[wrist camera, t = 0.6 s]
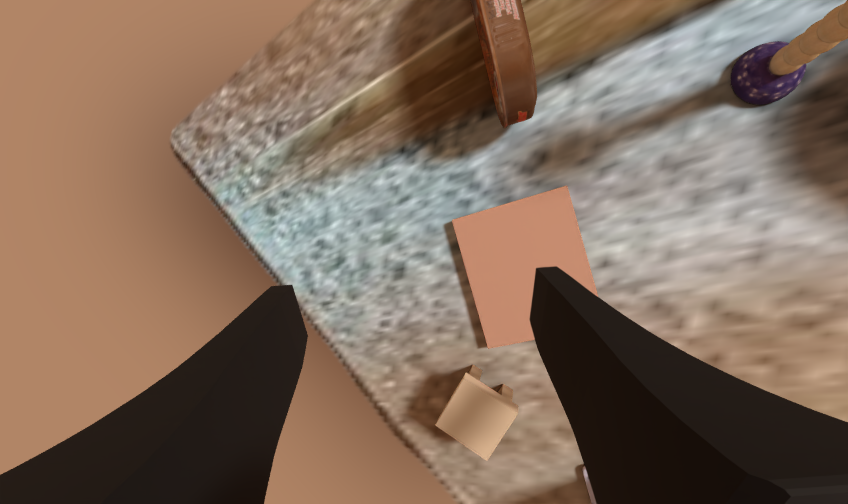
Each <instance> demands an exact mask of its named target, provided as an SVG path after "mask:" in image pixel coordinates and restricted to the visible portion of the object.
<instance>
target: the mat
mask: <svg viewBox="0 0 848 504" xmlns="http://www.w3.org/2000/svg"><path fill="white" fill-rule="evenodd" d="M452 222H453V226H454V229H455V233H456V237H457V240H458V244H459V247H460V251H461V254H462V258H463V261H464V265H465V268H466V272H467V275H468V279H469V282H470V286H471V290H472V293H473V297H474V300H475V304H476V307H477V311H478V314H479V318H480V321H481V325H482V328H483V332H484V336H485V339H486V343H487V346H488V349H489V348H494V347H499V346H504V345H510V344H515V343H520V342H525V341H530V340H535V338H534V335H533V331H532V327H531V324H530V320H529V319H530V311H531V304H532V296H533V288H534V280H535V272H536V268H540V267H554V266H557V267H558V268H560V269H561V270H563V271H564V272H565V273H567V274H568V275H569V276H571V277H572V278H573V279H575V280H576V281H577V282H579V283H580V284H581V285H583V286H584V287H585V288H587V289H588V290H589V291H591V292H592V293H593V294H595V295H596V296H597V297H598V294H597V291H596V287H595V284H594V280H593V276H592V273H591V269H590V266H589V262H588V259H587V255H586V251H585V248H584V244H583V241H582V237H581V234H580V230H579V226H578V223H577V219H576V216H575V212H574V209H573V205H572V201H571V198H570V194H569V191H568V187H567V186H564V187H560V188H557V189H554V190H550V191H547V192H544V193H540V194H537V195H534V196H530V197H527V198H524V199H520V200H517V201H514V202H510V203H507V204H504V205H500V206H497V207H494V208H490V209H487V210H484V211H480V212H477V213H474V214H470V215H467V216H464V217H460V218H457V219H454V220H452Z"/></svg>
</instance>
